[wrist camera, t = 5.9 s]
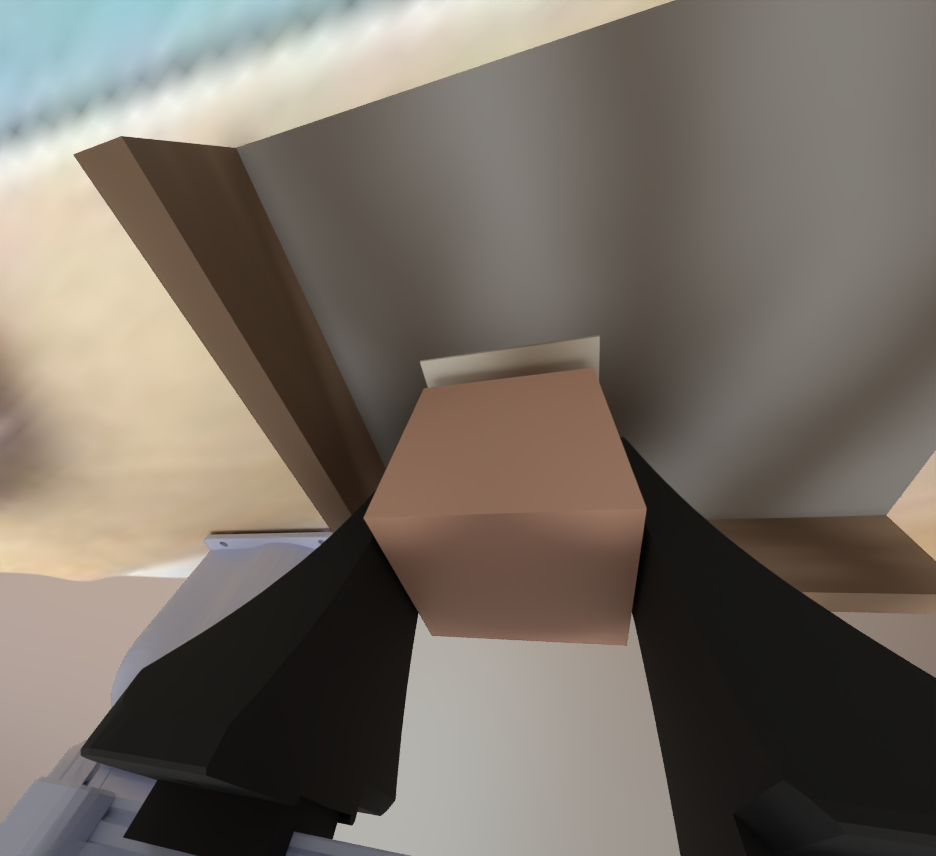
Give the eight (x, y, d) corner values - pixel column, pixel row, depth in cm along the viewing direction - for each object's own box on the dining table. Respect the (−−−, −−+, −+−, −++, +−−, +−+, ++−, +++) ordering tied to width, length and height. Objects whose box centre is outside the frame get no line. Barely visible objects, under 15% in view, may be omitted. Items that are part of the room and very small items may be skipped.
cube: (458, 498, 13) (431, 635, 9) (423, 388, 10) (363, 517, 6) (592, 492, 12) (626, 645, 8) (593, 367, 9) (646, 508, 5)
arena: (403, 526, 18) (378, 599, 15) (225, 162, 9) (72, 154, 6) (850, 515, 14) (948, 614, 11) (1330, -200, 5) (2797, -887, 2)
